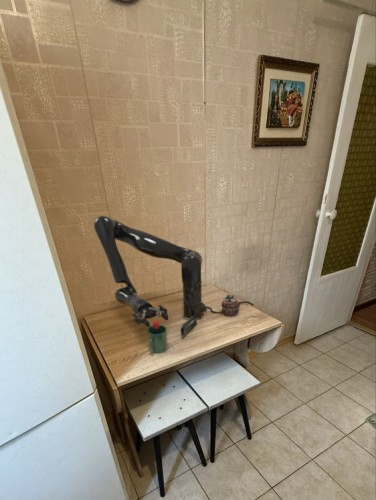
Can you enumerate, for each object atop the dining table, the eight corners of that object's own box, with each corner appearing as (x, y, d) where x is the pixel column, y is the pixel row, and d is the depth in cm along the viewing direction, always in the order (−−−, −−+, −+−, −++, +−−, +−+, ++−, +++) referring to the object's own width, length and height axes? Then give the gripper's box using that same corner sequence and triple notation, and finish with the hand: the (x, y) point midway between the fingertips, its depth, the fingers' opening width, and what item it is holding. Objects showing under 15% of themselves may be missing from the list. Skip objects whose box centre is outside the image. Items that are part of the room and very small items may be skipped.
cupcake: (239, 318, 144) (240, 300, 139) (220, 316, 146) (221, 299, 140) (239, 309, 152) (240, 292, 146) (221, 308, 153) (222, 291, 148)
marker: (161, 345, 124) (158, 321, 117) (160, 348, 122) (158, 323, 115) (156, 345, 124) (153, 321, 117) (155, 348, 122) (153, 323, 115)
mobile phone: (192, 314, 139) (178, 328, 127) (197, 315, 137) (184, 329, 126) (192, 323, 141) (178, 337, 130) (197, 324, 140) (184, 339, 129)
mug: (154, 341, 128) (152, 323, 123) (170, 344, 126) (169, 326, 120) (143, 354, 119) (140, 336, 114) (160, 358, 117) (158, 340, 112)
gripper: (124, 303, 120) (141, 318, 109) (154, 295, 127) (172, 308, 116) (127, 318, 124) (143, 334, 113) (155, 309, 131) (173, 324, 120)
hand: (158, 321), depth 114 cm, fingers open, 8 cm apart
